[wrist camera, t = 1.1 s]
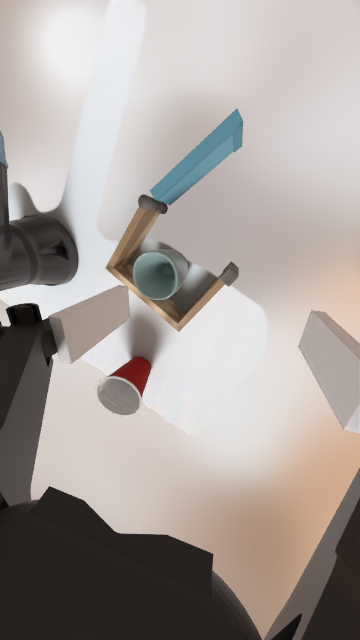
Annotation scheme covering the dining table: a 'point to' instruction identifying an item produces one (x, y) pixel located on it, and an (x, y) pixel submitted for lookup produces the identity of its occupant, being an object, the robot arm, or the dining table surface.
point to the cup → (160, 273)
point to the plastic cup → (124, 388)
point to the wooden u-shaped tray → (124, 270)
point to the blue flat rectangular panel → (201, 160)
